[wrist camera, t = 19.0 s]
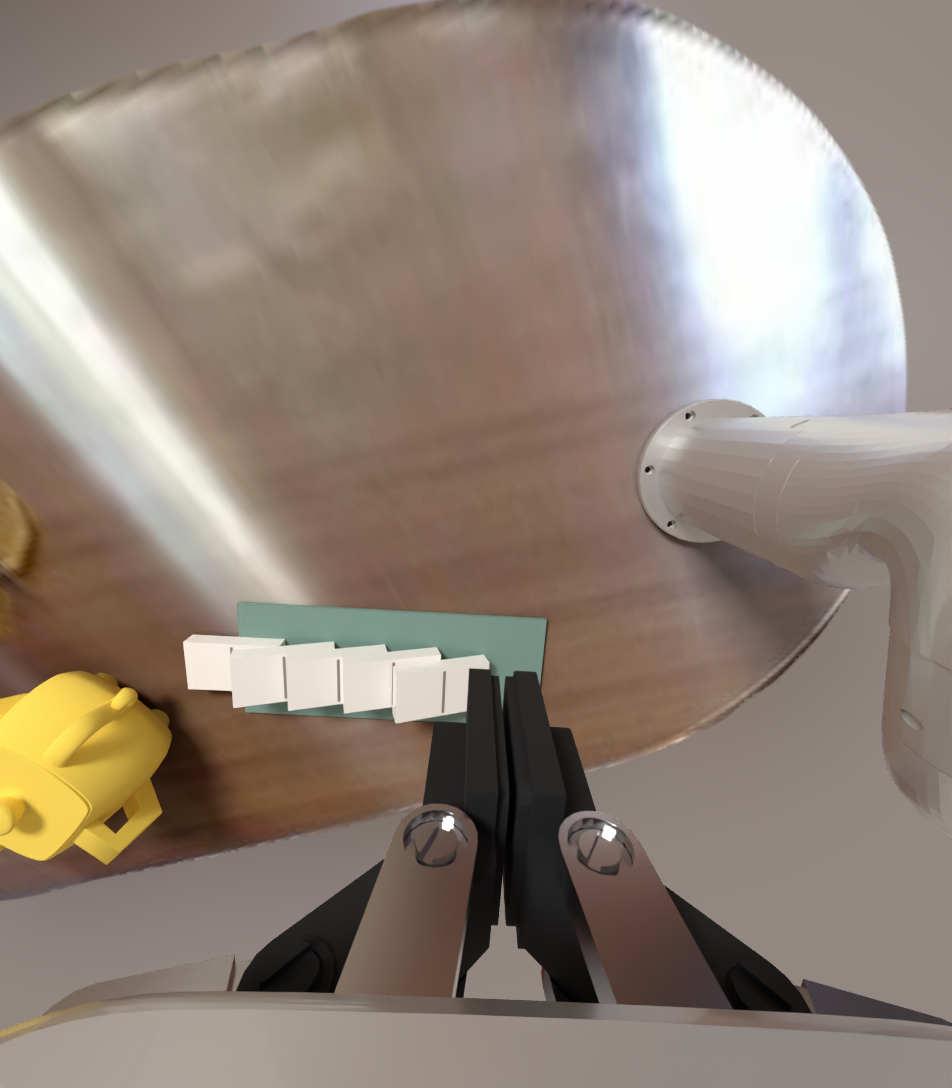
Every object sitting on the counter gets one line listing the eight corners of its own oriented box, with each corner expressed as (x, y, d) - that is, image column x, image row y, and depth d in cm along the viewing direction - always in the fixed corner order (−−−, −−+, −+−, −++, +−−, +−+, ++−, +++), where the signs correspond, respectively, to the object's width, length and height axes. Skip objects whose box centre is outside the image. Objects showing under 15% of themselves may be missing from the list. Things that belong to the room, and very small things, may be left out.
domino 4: (440, 654, 44) (343, 665, 41) (438, 700, 45) (343, 713, 43) (436, 646, 46) (342, 656, 43) (435, 691, 47) (343, 703, 44)
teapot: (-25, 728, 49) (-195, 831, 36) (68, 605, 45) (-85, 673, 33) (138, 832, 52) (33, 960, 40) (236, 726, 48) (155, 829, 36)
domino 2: (334, 648, 44) (229, 659, 41) (335, 695, 45) (233, 708, 42) (334, 641, 46) (232, 650, 43) (334, 686, 47) (236, 698, 44)
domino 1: (278, 646, 44) (182, 642, 44) (281, 693, 45) (188, 689, 45) (285, 639, 45) (193, 634, 45) (287, 684, 47) (197, 679, 47)
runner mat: (546, 618, 45) (546, 620, 45) (535, 724, 48) (535, 726, 48) (239, 601, 45) (237, 603, 44) (247, 709, 48) (245, 712, 48)
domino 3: (387, 651, 44) (285, 662, 41) (386, 698, 45) (288, 711, 42) (384, 644, 46) (286, 653, 43) (384, 688, 47) (289, 700, 44)
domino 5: (489, 662, 44) (396, 675, 41) (486, 708, 46) (395, 723, 42) (483, 654, 46) (392, 666, 43) (480, 698, 47) (392, 713, 44)
